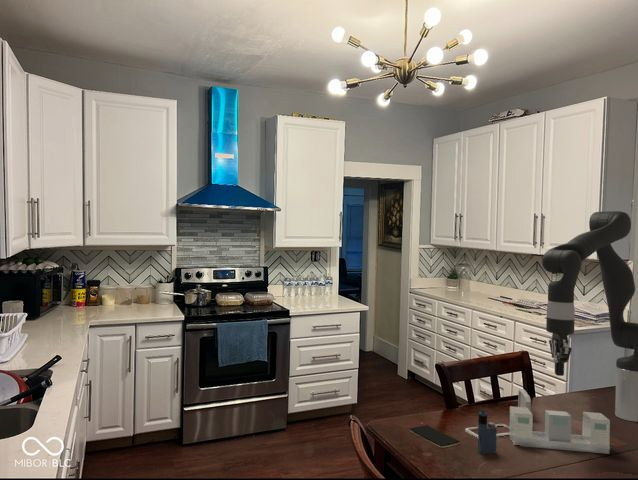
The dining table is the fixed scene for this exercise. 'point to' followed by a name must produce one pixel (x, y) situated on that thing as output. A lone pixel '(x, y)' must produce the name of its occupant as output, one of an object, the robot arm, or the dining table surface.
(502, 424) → the white rectangular frame
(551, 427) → the grey module
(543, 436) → the white u-shaped block
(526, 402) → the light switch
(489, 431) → the vaping device
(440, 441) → the smartphone
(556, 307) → the robot arm
